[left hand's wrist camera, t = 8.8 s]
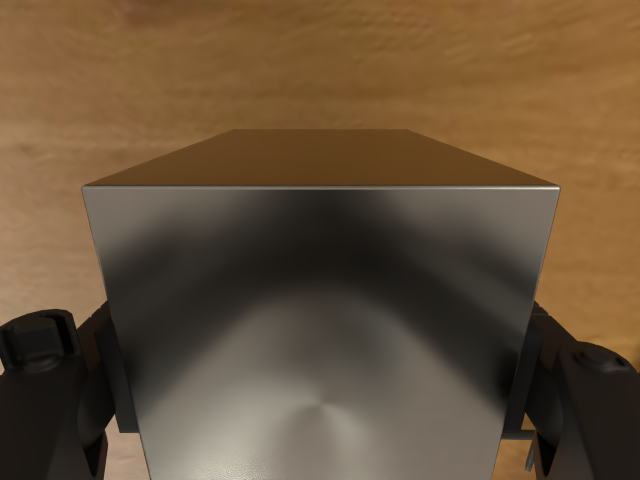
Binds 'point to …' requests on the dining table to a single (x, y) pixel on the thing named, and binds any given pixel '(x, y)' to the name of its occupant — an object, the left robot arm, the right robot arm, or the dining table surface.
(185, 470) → the block
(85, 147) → the dining table surface
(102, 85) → the dining table surface
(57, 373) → the left robot arm
